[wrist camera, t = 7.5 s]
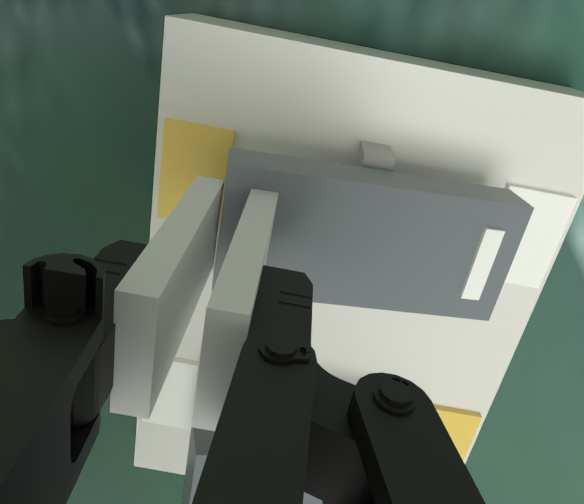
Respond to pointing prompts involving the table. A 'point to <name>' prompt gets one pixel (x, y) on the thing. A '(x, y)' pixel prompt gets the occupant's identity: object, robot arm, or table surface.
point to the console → (376, 155)
